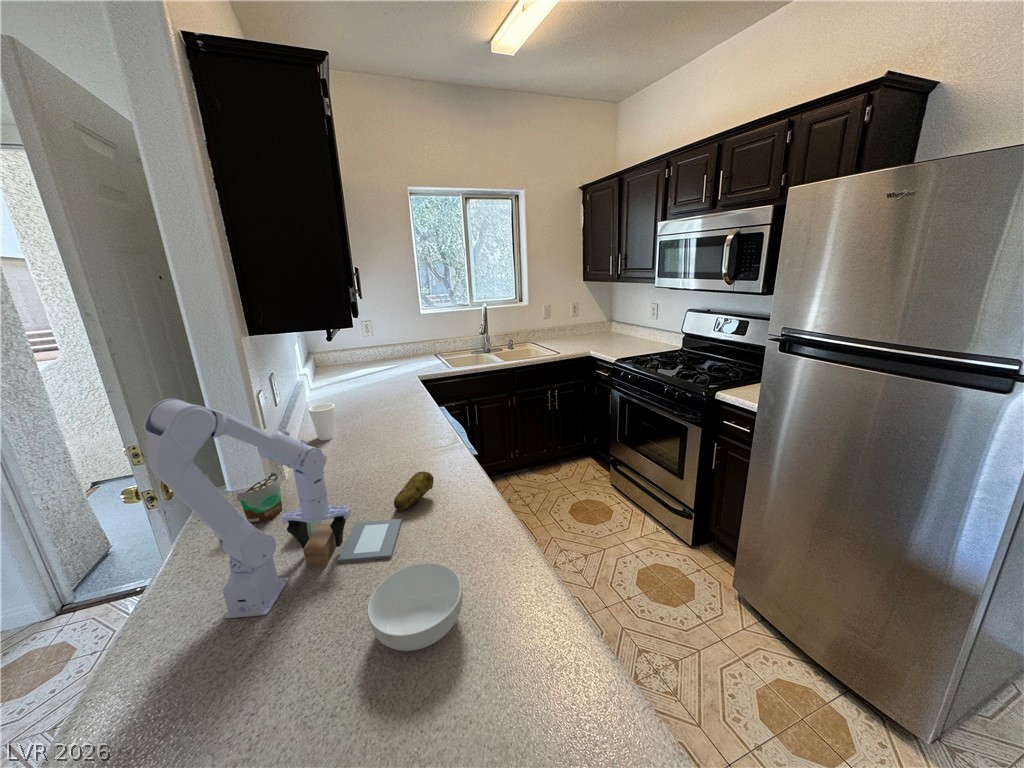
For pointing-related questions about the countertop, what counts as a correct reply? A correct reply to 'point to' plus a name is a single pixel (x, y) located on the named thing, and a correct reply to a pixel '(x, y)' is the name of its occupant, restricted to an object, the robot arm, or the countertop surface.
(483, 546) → the countertop surface
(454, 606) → the cereal bowl
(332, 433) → the foam cup
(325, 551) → the walnut brick
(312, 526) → the green brick
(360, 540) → the board
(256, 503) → the food container
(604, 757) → the countertop surface
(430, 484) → the potato
